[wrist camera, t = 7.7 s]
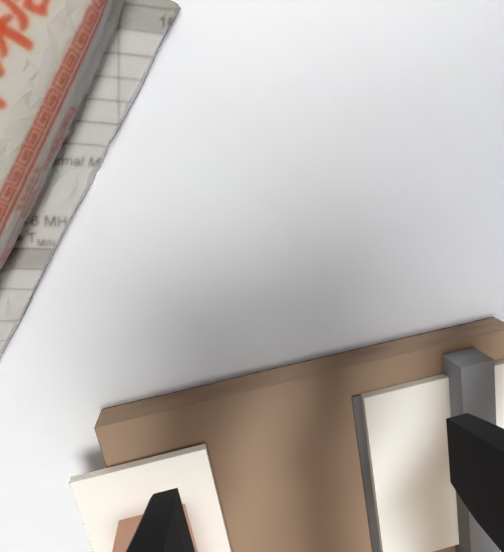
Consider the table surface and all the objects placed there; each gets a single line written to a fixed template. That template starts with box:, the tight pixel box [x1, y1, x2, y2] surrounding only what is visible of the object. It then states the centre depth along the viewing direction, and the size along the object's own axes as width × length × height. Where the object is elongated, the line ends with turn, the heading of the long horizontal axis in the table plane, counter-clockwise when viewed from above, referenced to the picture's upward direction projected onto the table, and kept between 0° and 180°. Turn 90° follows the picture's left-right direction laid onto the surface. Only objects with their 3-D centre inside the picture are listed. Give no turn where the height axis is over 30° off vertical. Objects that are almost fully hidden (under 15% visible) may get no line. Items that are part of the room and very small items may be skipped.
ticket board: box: [94, 317, 504, 552], centre depth 20 cm, size 20×13×3 cm, turn 100°
